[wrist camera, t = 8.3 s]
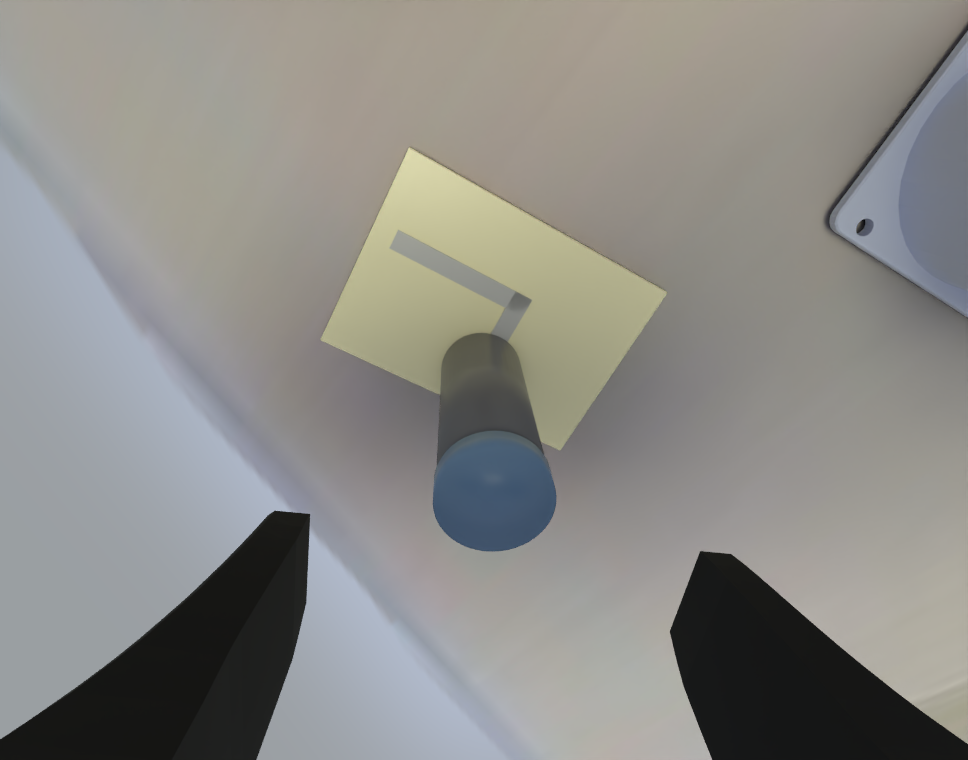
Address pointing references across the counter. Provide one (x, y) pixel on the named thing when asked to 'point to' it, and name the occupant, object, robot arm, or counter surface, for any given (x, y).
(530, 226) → the notepad
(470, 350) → the marker
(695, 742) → the counter surface
